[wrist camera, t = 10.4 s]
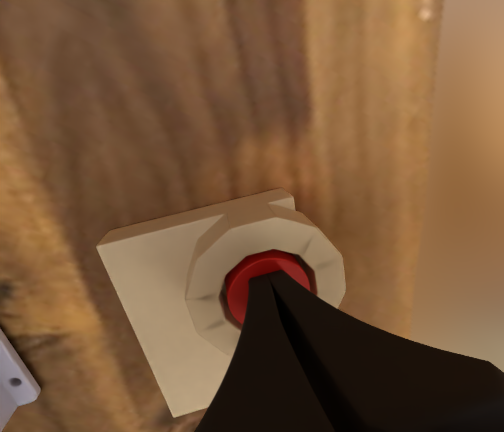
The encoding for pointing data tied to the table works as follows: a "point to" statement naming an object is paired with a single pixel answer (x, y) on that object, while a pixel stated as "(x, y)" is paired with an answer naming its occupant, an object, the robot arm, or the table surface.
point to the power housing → (206, 283)
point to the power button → (254, 267)
